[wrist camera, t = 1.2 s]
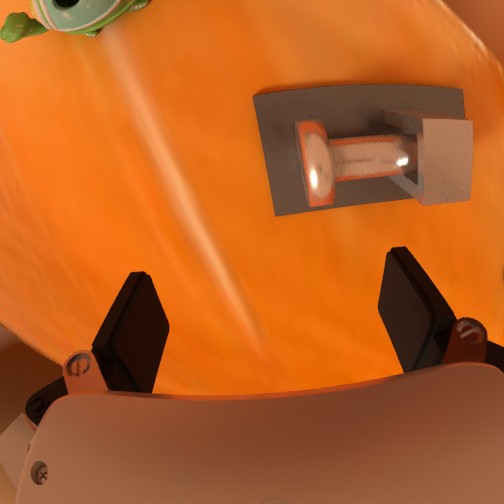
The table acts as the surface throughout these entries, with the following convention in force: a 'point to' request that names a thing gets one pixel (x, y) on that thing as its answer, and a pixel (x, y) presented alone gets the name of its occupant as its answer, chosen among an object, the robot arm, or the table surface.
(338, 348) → the table surface
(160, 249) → the table surface
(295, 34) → the table surface
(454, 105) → the bearing housing
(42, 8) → the turtle holder
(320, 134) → the door knob
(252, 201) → the table surface
